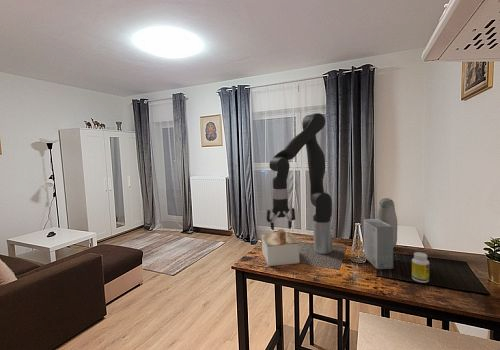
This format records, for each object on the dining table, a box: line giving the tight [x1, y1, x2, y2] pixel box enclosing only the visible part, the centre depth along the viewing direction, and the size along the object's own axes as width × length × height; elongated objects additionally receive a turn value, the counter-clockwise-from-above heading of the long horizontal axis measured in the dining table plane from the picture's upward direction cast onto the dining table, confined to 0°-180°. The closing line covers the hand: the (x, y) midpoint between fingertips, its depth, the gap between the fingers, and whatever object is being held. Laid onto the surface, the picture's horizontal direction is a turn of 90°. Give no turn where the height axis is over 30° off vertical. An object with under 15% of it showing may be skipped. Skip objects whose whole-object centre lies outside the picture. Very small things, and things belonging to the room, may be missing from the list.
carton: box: [261, 236, 300, 267], centre depth 139 cm, size 16×18×10 cm
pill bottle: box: [411, 251, 430, 284], centre depth 109 cm, size 6×6×11 cm
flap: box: [261, 228, 300, 247], centre depth 138 cm, size 16×18×6 cm
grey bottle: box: [376, 197, 398, 249], centre depth 143 cm, size 10×10×28 cm
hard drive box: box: [363, 218, 394, 270], centre depth 127 cm, size 16×8×20 cm, turn 179°
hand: (281, 228), depth 132 cm, fingers open, 8 cm apart
